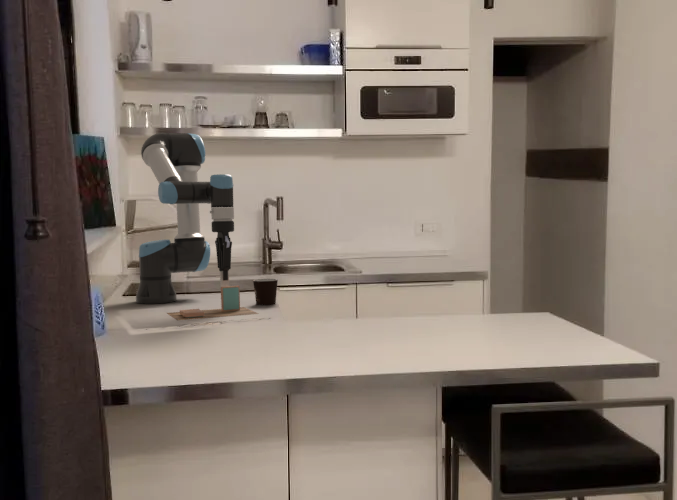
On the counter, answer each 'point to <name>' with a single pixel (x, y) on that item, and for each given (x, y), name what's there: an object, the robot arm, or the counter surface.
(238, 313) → the board
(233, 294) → the tile
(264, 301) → the coffee mug
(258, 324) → the counter surface
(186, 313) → the tile
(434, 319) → the counter surface
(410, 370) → the counter surface
